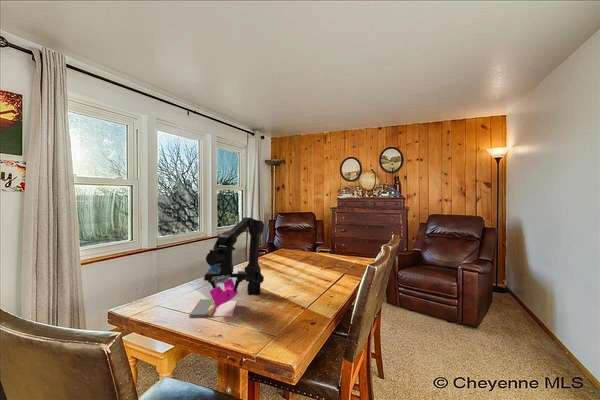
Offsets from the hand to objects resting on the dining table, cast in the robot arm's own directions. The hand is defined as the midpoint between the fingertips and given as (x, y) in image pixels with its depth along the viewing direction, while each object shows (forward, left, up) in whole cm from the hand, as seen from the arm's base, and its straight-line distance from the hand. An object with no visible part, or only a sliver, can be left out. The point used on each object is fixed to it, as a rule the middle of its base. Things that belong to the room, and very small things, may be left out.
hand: (225, 293), depth 132 cm
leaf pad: (0, 0, -7) cm, 7 cm away
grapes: (+13, -46, -7) cm, 48 cm away
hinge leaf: (+9, 0, -7) cm, 11 cm away
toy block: (-2, +2, -2) cm, 3 cm away
